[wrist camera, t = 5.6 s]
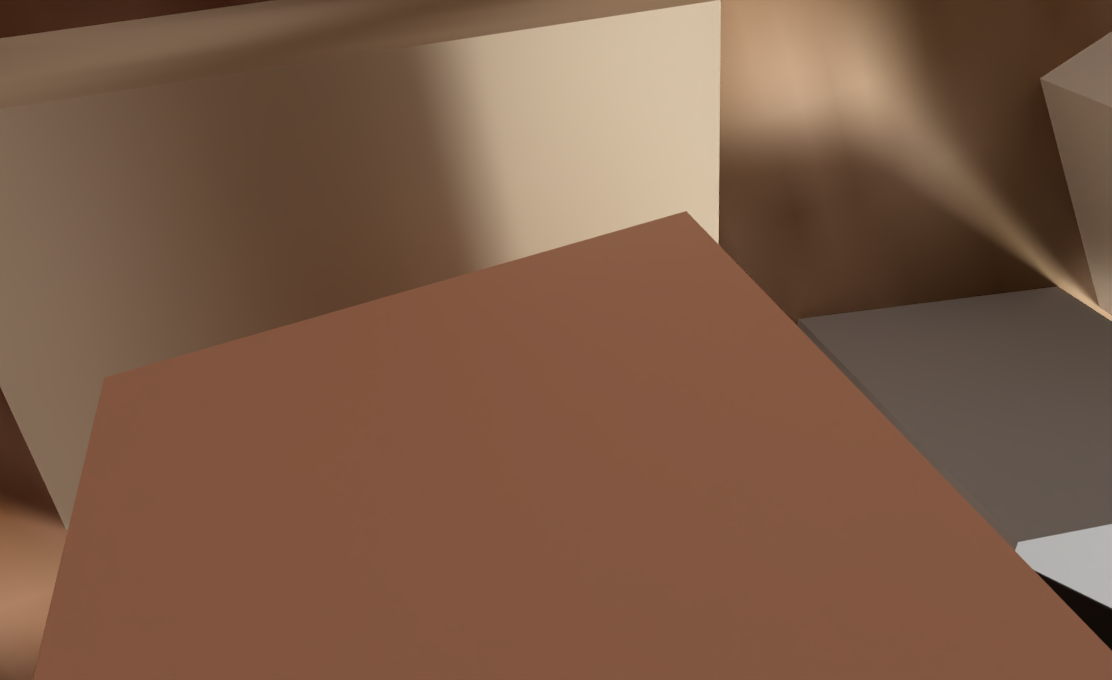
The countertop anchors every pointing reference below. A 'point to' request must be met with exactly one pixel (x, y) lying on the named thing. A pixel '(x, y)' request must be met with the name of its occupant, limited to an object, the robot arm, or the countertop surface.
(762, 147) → the countertop surface
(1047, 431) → the slate block
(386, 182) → the beige block
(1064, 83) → the cream block
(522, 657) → the terracotta block
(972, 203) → the countertop surface
